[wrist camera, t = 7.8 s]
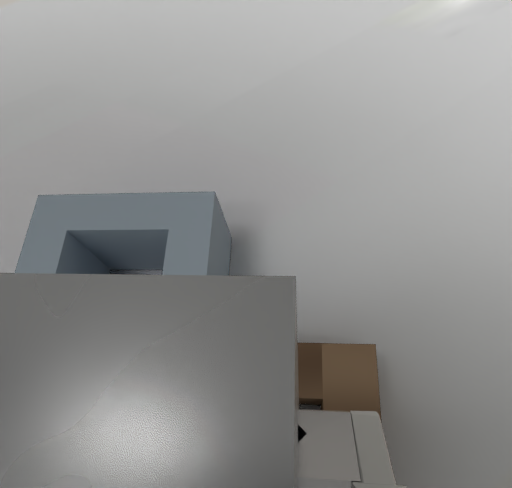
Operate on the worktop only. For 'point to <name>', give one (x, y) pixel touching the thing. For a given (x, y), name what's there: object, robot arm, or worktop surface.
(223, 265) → the block
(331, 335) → the worktop surface
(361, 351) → the socket block
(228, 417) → the tall brushed metal pillar
